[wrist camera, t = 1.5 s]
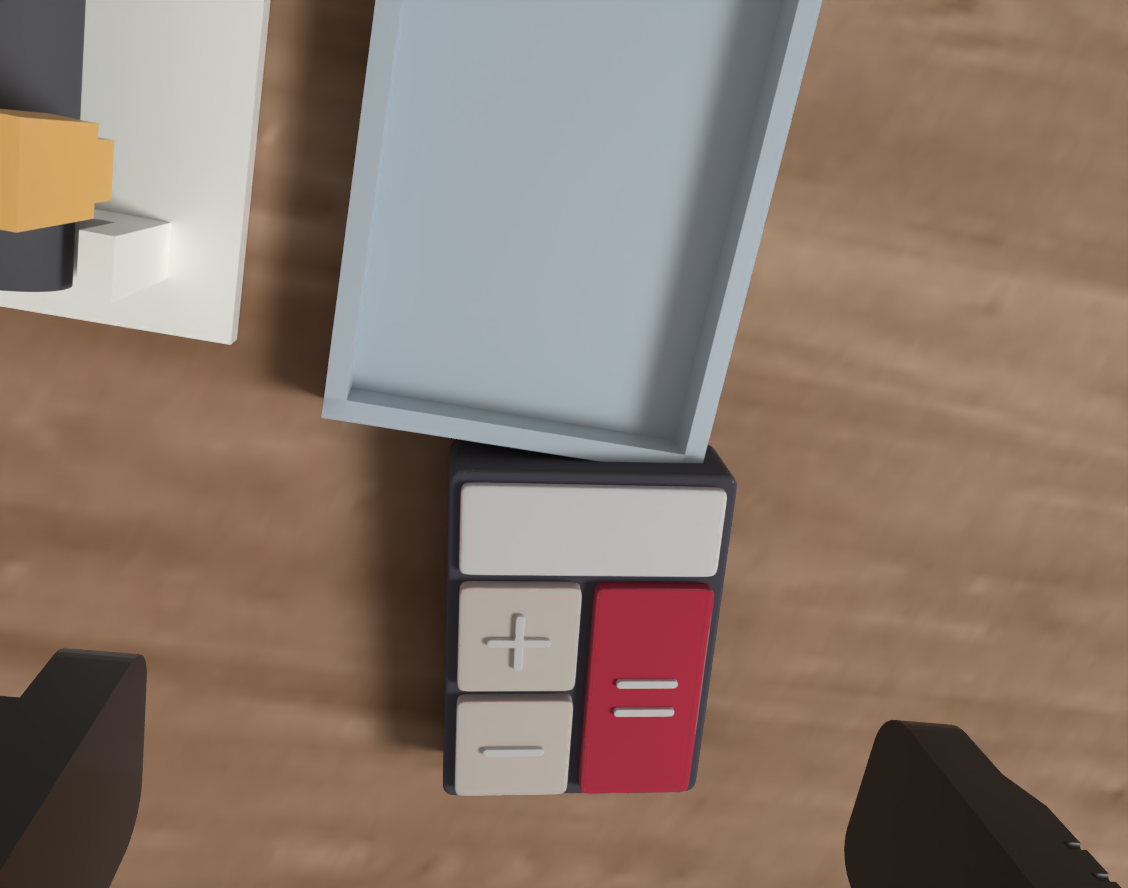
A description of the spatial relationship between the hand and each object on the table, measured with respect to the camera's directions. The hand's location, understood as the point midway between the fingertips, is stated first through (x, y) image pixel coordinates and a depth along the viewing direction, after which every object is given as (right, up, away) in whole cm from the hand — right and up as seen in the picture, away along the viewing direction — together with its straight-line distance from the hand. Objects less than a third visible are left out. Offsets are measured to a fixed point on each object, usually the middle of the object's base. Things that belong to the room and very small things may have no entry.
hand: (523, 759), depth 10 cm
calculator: (+1, -4, +30) cm, 30 cm away
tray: (+1, +14, +24) cm, 28 cm away
